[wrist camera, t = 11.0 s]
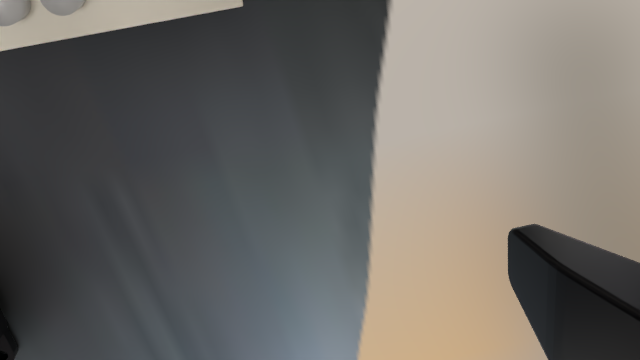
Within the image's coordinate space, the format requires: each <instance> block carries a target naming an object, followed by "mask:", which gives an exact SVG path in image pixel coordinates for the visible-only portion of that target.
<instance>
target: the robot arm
mask: <svg viewBox="0 0 640 360" xmlns="http://www.w3.org/2000/svg"><path fill="white" fill-rule="evenodd" d="M508 275H509V279H510V283H511V286H512V288H513V290H514V292H515V294H516V296H517V298H518V300H519V302H520V304H521V306H522V308H523V310H524V312H525V314H526V316H527V318H528V320H529V322H530V324H531V326H532V328H533V330H534V332H535V334H536V336H537V338H538V340H539V342H540V344H541V346H542V348H543V350H544V352H545V354H546V356H547V358H548V360H640V263H638V262H636V261H633V260H630V259H628V258H625V257H623V256H620V255H617V254H615V253H611V252H609V251H606V250H604V249H601V248H599V247H596V246H593V245H591V244H588V243H585V242H583V241H580V240H577V239H575V238H572V237H569V236H566V235H564V234H561V233H559V232H556V231H553V230H551V229H548V228H545V227H543V226H540V225H537V224H531V225H527V226H522V227H517V228H513V229H512V230H511V231H510V232H509V235H508ZM7 326H8V323H7V321H6V319H5V317H4V315H3V313H2V311H1V309H0V351H4V352H6V353H7V354H3V353H1V352H0V360H14V359H15V357H16V355H17V352H18V347H17V345H16V343H15V341H14V339H13V337H12V335H11V333H10V331H9V330H8V328H7Z"/></svg>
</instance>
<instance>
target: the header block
mask: <svg viewBox="0 0 640 360" xmlns="http://www.w3.org/2000/svg"><path fill="white" fill-rule="evenodd" d="M242 6H243V0H0V51H4V50H10V49H15V48H20V47H26V46H31V45H37V44H42V43H47V42H53V41H58V40H64V39H69V38H75V37H80V36H85V35H91V34H96V33H102V32H107V31H112V30H118V29H123V28H129V27H134V26H139V25H145V24H150V23H156V22H161V21H166V20H172V19H177V18H183V17H188V16H193V15H199V14H204V13H210V12H215V11H220V10H226V9H231V8H237V7H242Z"/></svg>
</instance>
